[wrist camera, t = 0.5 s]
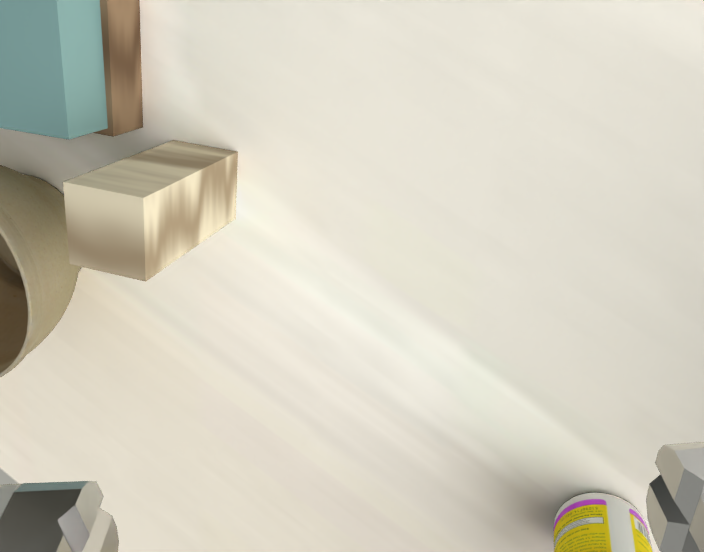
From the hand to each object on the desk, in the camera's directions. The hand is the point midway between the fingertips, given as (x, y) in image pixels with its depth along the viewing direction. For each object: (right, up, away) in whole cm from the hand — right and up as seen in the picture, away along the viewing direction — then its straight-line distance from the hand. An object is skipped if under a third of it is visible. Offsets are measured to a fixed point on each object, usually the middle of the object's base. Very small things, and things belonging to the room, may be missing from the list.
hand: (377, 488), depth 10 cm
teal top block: (-21, +19, +33) cm, 44 cm away
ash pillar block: (-11, +10, +38) cm, 41 cm away
